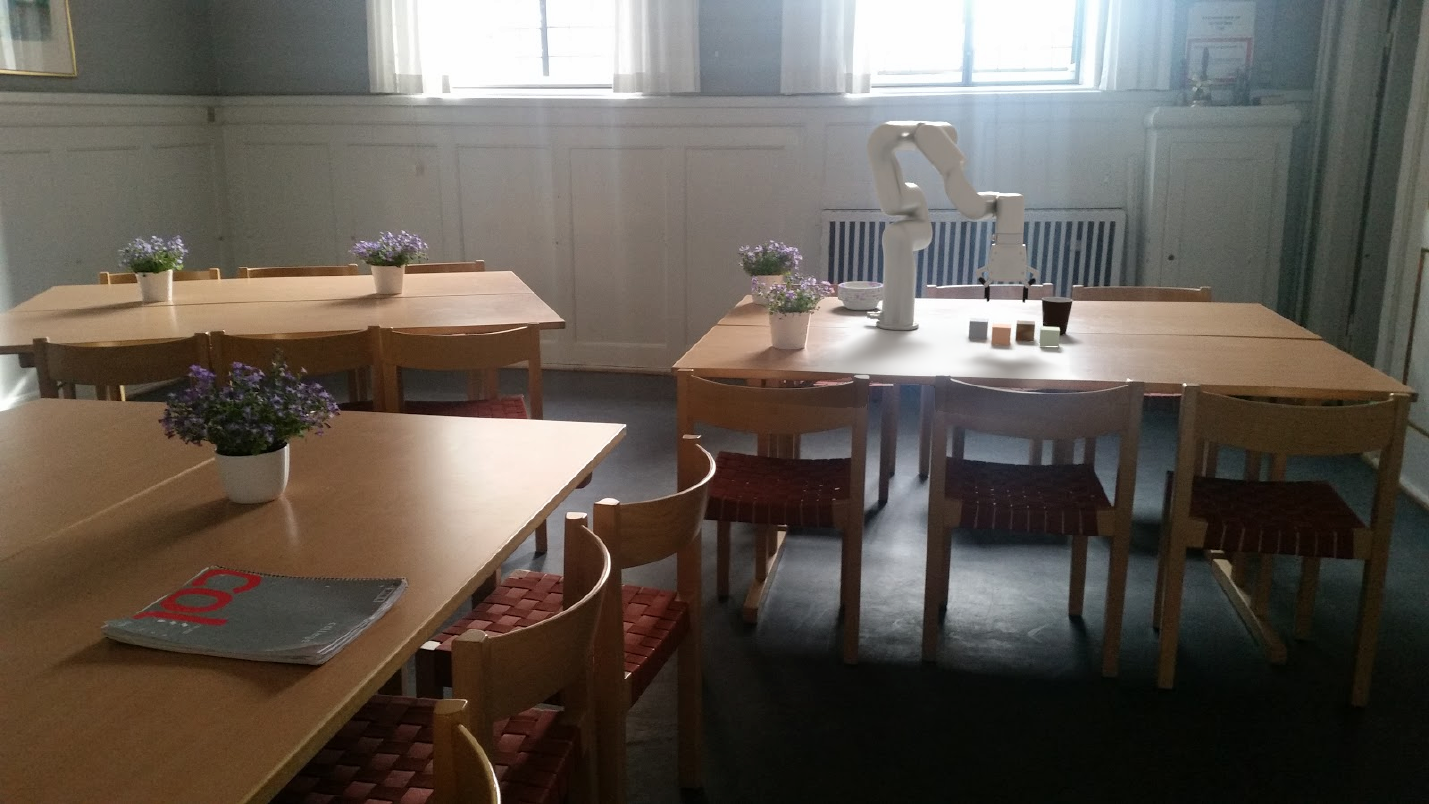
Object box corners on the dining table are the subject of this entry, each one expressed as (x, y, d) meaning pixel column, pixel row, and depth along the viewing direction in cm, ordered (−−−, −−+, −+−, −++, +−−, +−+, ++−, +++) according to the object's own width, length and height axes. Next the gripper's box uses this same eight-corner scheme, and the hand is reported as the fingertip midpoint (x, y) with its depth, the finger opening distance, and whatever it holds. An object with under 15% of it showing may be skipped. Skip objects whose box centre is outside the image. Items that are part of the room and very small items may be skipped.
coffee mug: (1063, 337, 319) (1066, 303, 317) (1034, 333, 324) (1037, 299, 322) (1077, 331, 328) (1080, 297, 326) (1049, 327, 333) (1052, 294, 331)
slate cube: (968, 338, 318) (969, 321, 317) (969, 334, 323) (970, 317, 321) (986, 339, 317) (987, 322, 315) (987, 335, 321) (988, 318, 320)
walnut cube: (1015, 340, 315) (1016, 323, 313) (1015, 337, 319) (1016, 320, 318) (1033, 341, 313) (1035, 324, 312) (1033, 338, 318) (1034, 321, 317)
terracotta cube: (991, 344, 310) (992, 327, 308) (991, 340, 314) (992, 323, 313) (1009, 345, 309) (1010, 328, 307) (1009, 342, 313) (1011, 324, 312)
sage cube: (1039, 347, 307) (1041, 329, 305) (1039, 343, 311) (1040, 326, 310) (1058, 348, 305) (1059, 330, 304) (1057, 344, 310) (1059, 327, 309)
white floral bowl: (828, 306, 367) (829, 282, 364) (867, 302, 373) (868, 279, 371) (852, 313, 353) (853, 289, 351) (892, 310, 359) (894, 286, 357)
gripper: (975, 240, 302) (973, 302, 307) (1041, 241, 298) (1038, 304, 302) (977, 237, 309) (974, 298, 314) (1041, 238, 305) (1038, 300, 309)
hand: (1005, 301), depth 308 cm, fingers open, 9 cm apart
